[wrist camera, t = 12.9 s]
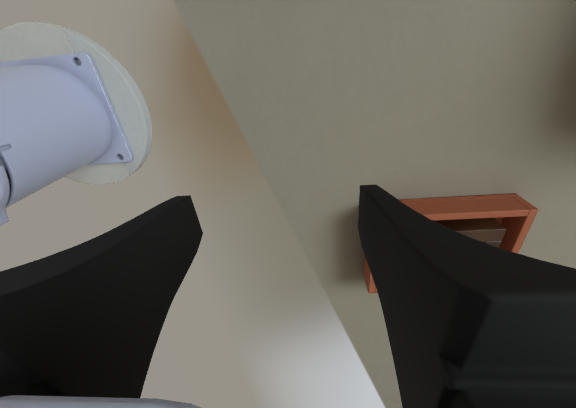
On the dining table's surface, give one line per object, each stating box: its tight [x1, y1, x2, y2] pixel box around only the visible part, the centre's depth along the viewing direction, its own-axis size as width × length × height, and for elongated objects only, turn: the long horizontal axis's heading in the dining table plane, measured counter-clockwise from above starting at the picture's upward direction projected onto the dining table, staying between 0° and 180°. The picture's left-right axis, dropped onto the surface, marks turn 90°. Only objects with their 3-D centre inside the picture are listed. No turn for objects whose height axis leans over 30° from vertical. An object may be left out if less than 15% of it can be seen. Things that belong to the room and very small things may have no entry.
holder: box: [364, 193, 538, 293], centre depth 23 cm, size 12×9×2 cm
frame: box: [433, 218, 506, 248], centre depth 23 cm, size 9×6×2 cm, turn 96°
